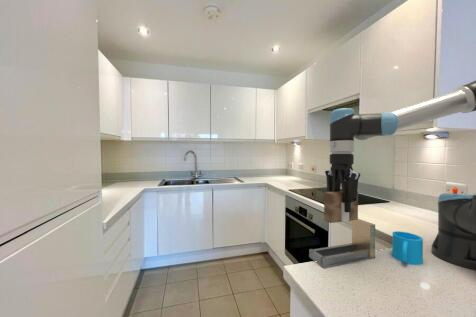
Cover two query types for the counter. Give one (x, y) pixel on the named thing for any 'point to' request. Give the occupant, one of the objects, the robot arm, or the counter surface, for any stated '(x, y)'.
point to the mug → (407, 248)
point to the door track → (348, 247)
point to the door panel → (337, 207)
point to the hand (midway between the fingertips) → (340, 219)
